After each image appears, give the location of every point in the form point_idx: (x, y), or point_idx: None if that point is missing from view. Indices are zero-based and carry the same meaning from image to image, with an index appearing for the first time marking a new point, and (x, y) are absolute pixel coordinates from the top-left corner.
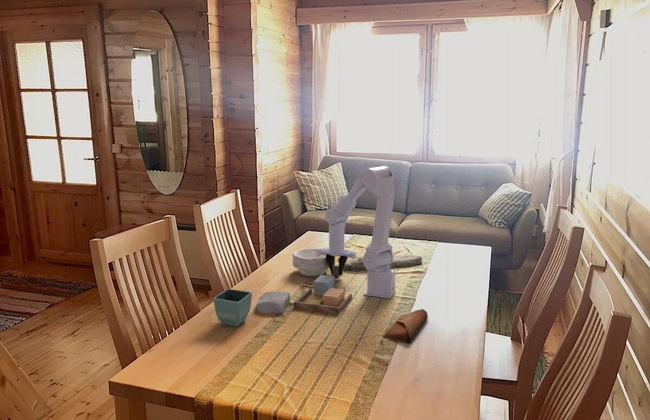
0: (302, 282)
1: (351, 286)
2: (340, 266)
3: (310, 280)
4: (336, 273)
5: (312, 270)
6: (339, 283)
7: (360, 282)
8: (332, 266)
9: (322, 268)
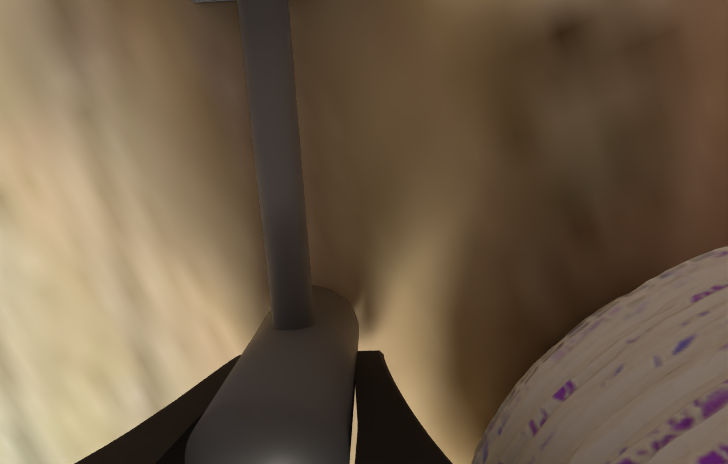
0: (711, 51)
1: (36, 171)
2: (121, 456)
3: (618, 172)
4: (261, 329)
5: (723, 253)
6: (218, 213)
7: (17, 334)
8: (323, 421)
9: (553, 383)
